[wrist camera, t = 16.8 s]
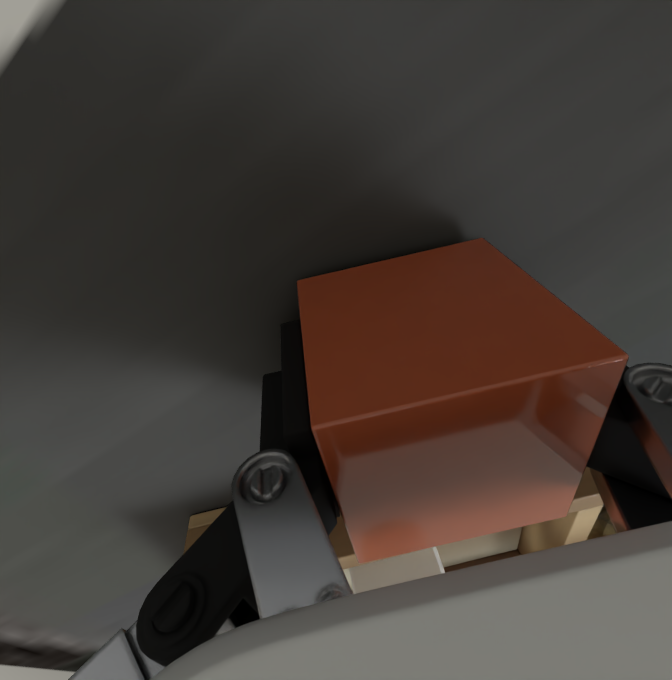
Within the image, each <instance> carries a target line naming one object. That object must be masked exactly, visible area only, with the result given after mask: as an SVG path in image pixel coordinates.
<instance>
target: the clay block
mask: <svg viewBox="0 0 672 680" xmlns="http://www.w3.org/2000/svg"><path fill="white" fill-rule="evenodd" d="M296 284H297V294H298V304H299V314H300V324H301V334H302V344H303V354H304V364H305V374H306V384H307V394H308V404H309V414H310V424H311V430H312V433H313V436H314V439H315V442H316V445H317V447H318V450H319V453H320V456H321V459H322V462H323V464H324V467H325V470H326V473H327V476H328V479H329V482H330V484H331V487H332V490H333V493H334V496H335V499H336V502H337V504H338V507H339V510H340V513H341V516H342V519H343V522H344V524H345V527H346V530H347V533H348V536H349V539H350V542H351V544H352V547H353V550H354V553H355V556H356V559H357V561H358V563H365V562H369V561H374V560H378V559H383V558H387V557H391V556H396V555H400V554H405V553H409V552H413V551H418V550H422V549H426V548H431V547H435V546H440V545H444V544H448V543H453V542H457V541H462V540H466V539H470V538H475V537H479V536H483V535H488V534H492V533H497V532H501V531H505V530H510V529H514V528H519V527H523V526H527V525H532V524H536V523H540V522H545V521H549V520H554V519H558V518H562V517H566V516H567V514H568V512H569V509H570V507H571V504H572V502H573V499H574V497H575V494H576V491H577V489H578V486H579V484H580V481H581V479H582V476H583V474H584V471H585V469H586V466H587V463H588V461H589V458H590V456H591V453H592V451H593V448H594V446H595V443H596V440H597V438H598V435H599V433H600V430H601V428H602V425H603V423H604V420H605V418H606V415H607V412H608V410H609V407H610V405H611V402H612V400H613V397H614V395H615V392H616V389H617V387H618V384H619V382H620V379H621V377H622V374H623V372H624V369H625V367H626V364H627V361H628V359H629V357H628V354H627V353H626V352H624V351H623V350H622V349H621V348H619V347H618V346H617V345H616V344H614V343H613V342H612V341H611V340H610V339H608V338H607V337H606V336H605V335H603V334H602V333H601V332H600V331H598V330H597V329H596V328H595V327H593V326H592V325H591V324H590V323H588V322H587V321H586V320H585V319H583V318H582V317H581V316H580V315H578V314H577V313H576V312H575V311H573V310H572V309H571V308H570V307H568V306H567V305H566V304H565V303H564V302H562V301H561V300H560V299H559V298H557V297H556V296H555V295H554V294H552V293H551V292H550V291H549V290H547V289H546V288H545V287H544V286H542V285H541V284H540V283H539V282H537V281H536V280H535V279H534V278H532V277H531V276H530V275H529V274H527V273H526V272H525V271H524V270H522V269H521V268H520V267H519V266H518V265H516V264H515V263H514V262H513V261H511V260H510V259H509V258H508V257H506V256H505V255H504V254H503V253H501V252H500V251H499V250H498V249H496V248H495V247H494V246H493V245H491V244H490V243H489V242H488V241H486V240H485V239H484V238H479V239H474V240H470V241H466V242H461V243H457V244H453V245H448V246H444V247H440V248H435V249H431V250H427V251H422V252H418V253H414V254H409V255H405V256H401V257H396V258H392V259H388V260H383V261H379V262H375V263H370V264H366V265H362V266H357V267H353V268H349V269H344V270H340V271H336V272H331V273H327V274H323V275H319V276H314V277H310V278H306V279H301V280H298V281H297V283H296Z"/></svg>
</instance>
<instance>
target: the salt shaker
mask: <svg viewBox="0 0 672 680" xmlns="http://www.w3.org/2000/svg"><path fill="white" fill-rule="evenodd" d="M349 571H350V577H351V583H352V589H353V594H356V593H360V592H364V591H368V590H373V589H377V588H381V587H386V586H390V585H394V584H399V583H403V582H407V581H411V580H416V579H420V578H424V577H429V576H433V575H437V574H441V573H445V571H444V568H443V565H442V562H441V559H440V557H439V554H438V551H437V548H436V547H432V548H428V549H424V550H420V551H416V552H412V553H408V554H404V555H399V556H395V557H391V558H387V559H383V560H379V561H375V562H371V563H367V564H363V565H359V566H355V567H351V568H349Z"/></svg>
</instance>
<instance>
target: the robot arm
mask: <svg viewBox="0 0 672 680" xmlns="http://www.w3.org/2000/svg"><path fill="white" fill-rule="evenodd" d="M281 366H282V371H278V372H273V373H269V374H265V375H264V376H263V386H262V411H261V436H260V452H257V453H256V454H254V455H252V456H251V457H249V458H248V459H247V460H246V461H245V462H244V463H243V464H242V465H241V466H240V467H239V468H238V470H237V472H236V473H235V475H234V478H233V482H232V497H233V501H232V502H231V503H230V504H229V505H228V506H227V508H226V509H225V510H224V511H223V512H222V513H221V514H220V515H219V516H218V517H217V518H216V519H215V521H214V522H213V523H212V524H211V525H210V526H209V527H208V528H207V529H206V530H205V531H204V533H203V534H202V535H201V536H200V537H199V538H198V539H197V540H196V541H195V542H194V543H193V544H192V546H191V547H190V548H189V549H188V550H187V551H186V552H185V553H184V554H183V555H182V556H181V557H180V559H179V560H178V561H177V562H176V563H175V564H174V565H173V566H172V567H171V568H170V569H169V571H168V572H167V573H166V574H165V575H164V576H163V577H162V578H161V579H160V580H159V581H158V582H157V584H156V585H155V586H154V587H153V589H152V590H151V591H150V593H149V594H148V595H147V597H146V599H145V601H144V603H143V605H142V607H141V609H140V612H139V616H138V620H137V621H136V622H135V623H134V624H133V625H132V626H131V627H130V628H129V629H128V630H127V631H126V630H124V629H122V628H121V629H120V630H119V631H118V632H117V633H116V634H115V635H114V636H113V637H112V638H111V639H110V640H109V641H108V642H107V643H106V644H104V645H103V646H102V647H101V648H100V649H99V650H98V651H97V652H96V653H95V654H94V655H93V656H92V657H91V658H90V659H89V660H88V661H87V662H86V663H85V664H84V665H83V666H82V667H81V668H80V669H79V670H78V671H77V672H76V673H74V675H72V676H71V677H70V678H69V679H68V680H672V366H671V365H666V364H661V363H643V364H637V365H635V366H632V367H630V368H629V367H628V366H626V367H625V369H624V372H623V374H622V377H621V379H620V382H619V384H618V387H617V389H616V392H615V395H614V397H613V400H612V402H611V405H610V407H609V410H608V412H607V415H606V418H605V420H604V423H603V425H602V428H601V430H600V433H599V435H598V438H597V440H596V443H595V446H594V448H593V451H592V453H591V456H590V458H589V461H588V463H587V466H586V467H589V468H590V473H591V475H592V477H593V480H594V482H595V485H596V487H597V489H598V492H599V494H600V496H601V499H602V501H603V504H604V506H605V508H606V511H607V513H608V515H609V518H610V520H611V523H612V525H613V527H614V530H615V532H616V534H611V535H607V536H603V537H598V538H594V539H589V540H585V541H581V542H576V543H572V544H567V545H563V546H559V547H554V548H550V549H545V550H541V551H537V552H532V553H528V554H524V555H519V556H515V557H510V558H506V559H502V560H497V561H493V562H489V563H484V564H480V565H476V566H471V567H467V568H463V569H459V570H454V571H450V572H446V573H441V574H437V575H433V576H429V577H424V578H420V579H416V580H411V581H407V582H403V583H399V584H394V585H390V586H386V587H381V588H377V589H373V590H368V591H364V592H360V593H356V594H353V592H352V590H351V588H350V585H349V583H348V581H347V578H346V576H345V574H344V571H343V569H342V567H341V564H340V562H339V560H338V557H337V555H336V553H335V550H334V548H333V546H332V543H331V541H330V539H329V534H330V533H331V532H332V530H333V529H334V527H335V526H336V524H337V517H340V511H339V507H338V504H337V502H336V499H335V496H334V493H333V490H332V487H331V484H330V482H329V479H328V476H327V473H326V470H325V467H324V464H323V462H322V459H321V456H320V453H319V450H318V447H317V445H316V442H315V439H314V436H313V433H312V430H311V424H310V414H309V404H308V394H307V384H306V374H305V364H304V354H303V344H302V334H301V324H300V320H297V321H293V322H289V323H284V324H281Z"/></svg>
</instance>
